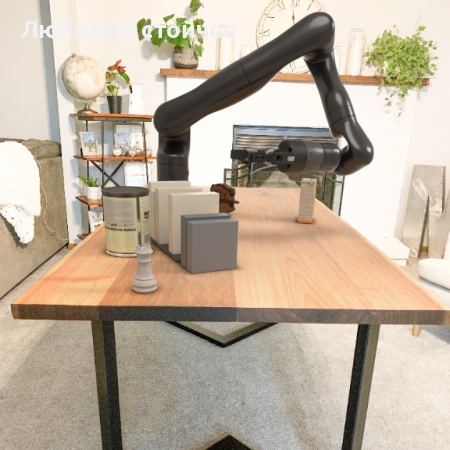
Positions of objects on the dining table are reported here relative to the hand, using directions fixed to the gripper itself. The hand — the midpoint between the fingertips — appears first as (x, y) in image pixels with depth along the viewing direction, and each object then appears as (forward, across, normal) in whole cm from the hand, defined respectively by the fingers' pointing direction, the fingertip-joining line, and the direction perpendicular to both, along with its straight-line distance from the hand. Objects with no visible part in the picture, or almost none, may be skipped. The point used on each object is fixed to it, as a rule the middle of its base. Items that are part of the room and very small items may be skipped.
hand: (239, 155), depth 99 cm
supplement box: (-38, -25, +22) cm, 50 cm away
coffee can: (+24, -6, +22) cm, 33 cm away
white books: (+11, -6, +22) cm, 25 cm away
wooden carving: (-16, -44, +22) cm, 51 cm away
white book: (+11, 0, +21) cm, 24 cm away
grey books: (+12, +11, +22) cm, 27 cm away
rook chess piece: (+28, +20, +22) cm, 41 cm away
